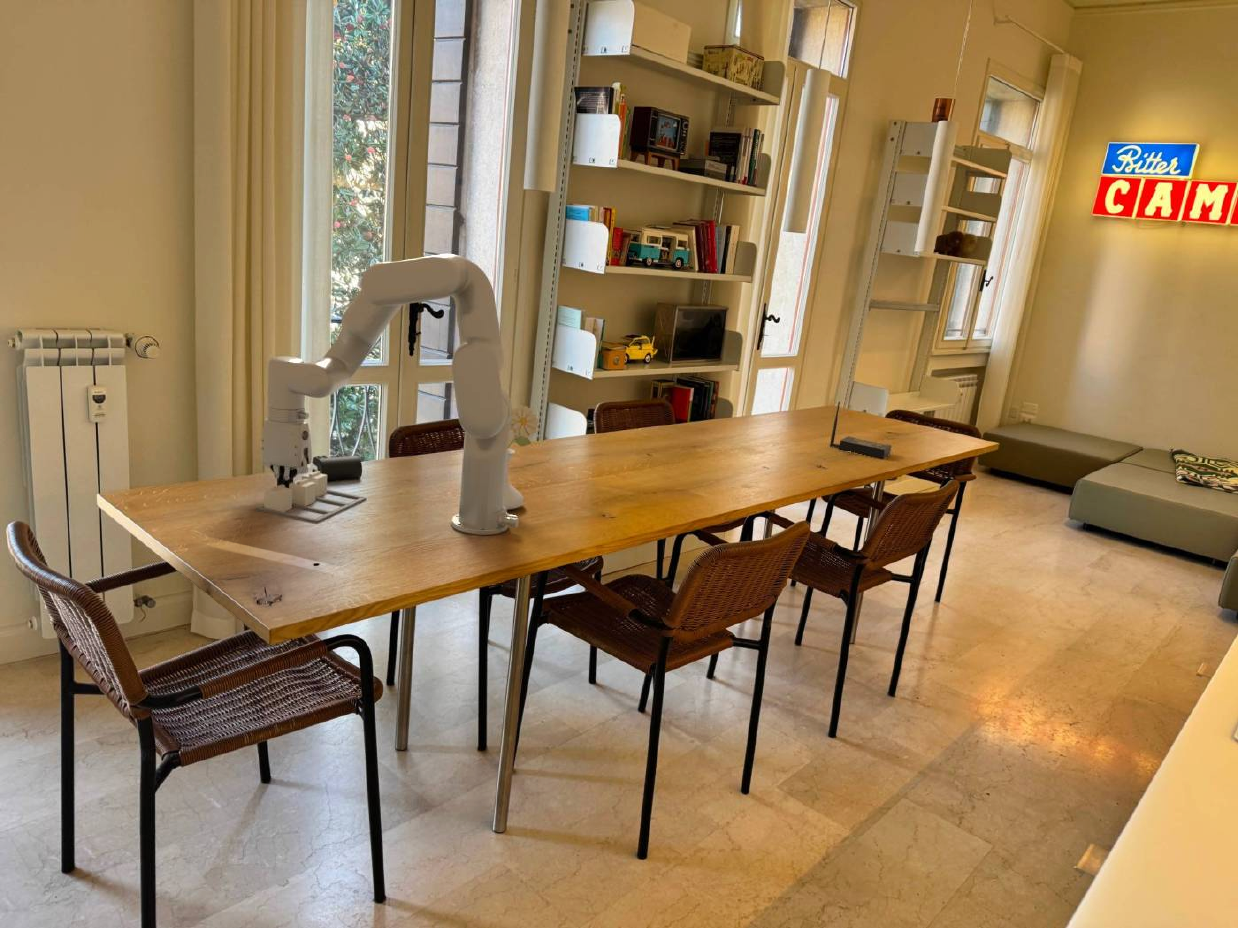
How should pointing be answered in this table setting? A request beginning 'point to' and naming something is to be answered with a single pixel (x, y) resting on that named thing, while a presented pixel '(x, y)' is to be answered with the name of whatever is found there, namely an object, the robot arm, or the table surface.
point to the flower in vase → (521, 426)
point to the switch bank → (327, 513)
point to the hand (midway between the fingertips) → (284, 494)
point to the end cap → (339, 467)
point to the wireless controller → (860, 444)
